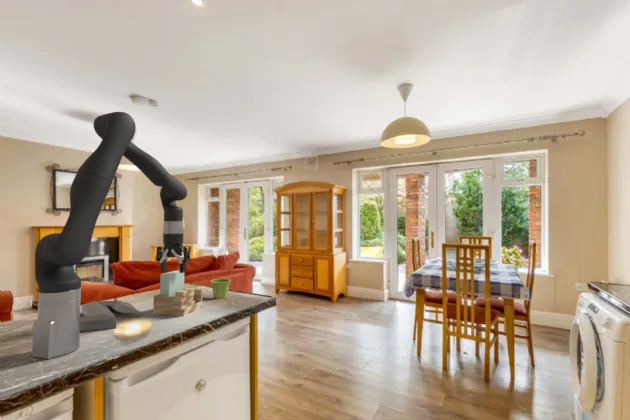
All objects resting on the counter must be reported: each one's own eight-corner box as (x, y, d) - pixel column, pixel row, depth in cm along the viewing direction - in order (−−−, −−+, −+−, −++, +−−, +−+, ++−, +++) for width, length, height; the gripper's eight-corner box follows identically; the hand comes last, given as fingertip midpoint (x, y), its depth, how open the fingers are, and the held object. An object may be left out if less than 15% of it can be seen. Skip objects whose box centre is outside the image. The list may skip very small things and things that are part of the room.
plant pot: (233, 299, 139) (233, 281, 140) (212, 302, 135) (212, 283, 135) (228, 295, 147) (228, 277, 148) (208, 297, 143) (208, 279, 143)
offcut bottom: (179, 314, 113) (179, 306, 114) (170, 314, 114) (170, 306, 115) (196, 307, 123) (196, 300, 123) (187, 306, 124) (187, 299, 124)
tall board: (168, 313, 115) (169, 274, 116) (159, 312, 116) (160, 274, 117) (183, 307, 124) (184, 270, 125) (175, 306, 125) (176, 270, 125)
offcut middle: (181, 306, 114) (181, 299, 114) (171, 305, 115) (171, 299, 115) (193, 301, 122) (193, 294, 122) (184, 300, 123) (184, 294, 123)
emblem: (158, 299, 121) (92, 321, 94) (158, 313, 121) (91, 339, 94) (103, 295, 127) (26, 315, 100) (102, 308, 127) (25, 331, 100)
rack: (182, 319, 111) (183, 297, 112) (153, 316, 114) (153, 295, 115) (203, 309, 124) (203, 289, 124) (176, 307, 127) (176, 288, 127)
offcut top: (183, 298, 116) (183, 292, 116) (175, 297, 117) (175, 291, 117) (194, 295, 122) (194, 288, 122) (186, 294, 123) (186, 288, 123)
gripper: (151, 232, 119) (151, 273, 119) (182, 232, 116) (182, 274, 115) (164, 231, 126) (164, 270, 126) (194, 232, 123) (194, 271, 123)
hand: (172, 272), depth 121 cm, fingers open, 8 cm apart
